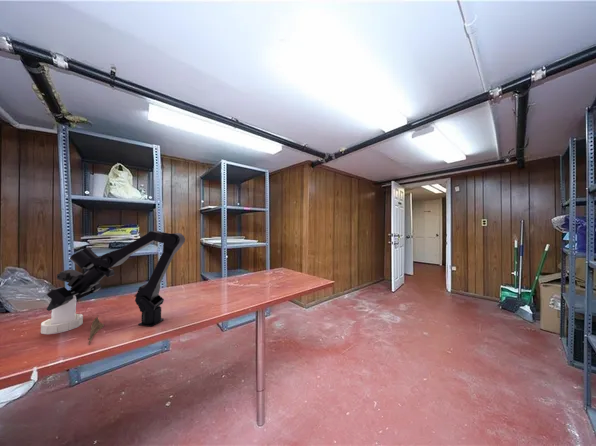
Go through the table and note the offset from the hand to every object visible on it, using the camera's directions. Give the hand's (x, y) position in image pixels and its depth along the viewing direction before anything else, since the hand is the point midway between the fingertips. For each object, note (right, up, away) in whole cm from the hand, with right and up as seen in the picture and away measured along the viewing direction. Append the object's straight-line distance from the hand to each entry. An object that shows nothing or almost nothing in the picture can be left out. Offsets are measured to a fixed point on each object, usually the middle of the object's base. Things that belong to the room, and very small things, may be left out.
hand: (59, 305), depth 84 cm
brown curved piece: (+19, -9, -5) cm, 22 cm away
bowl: (+1, -9, 0) cm, 9 cm away
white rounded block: (+1, -8, 0) cm, 8 cm away
